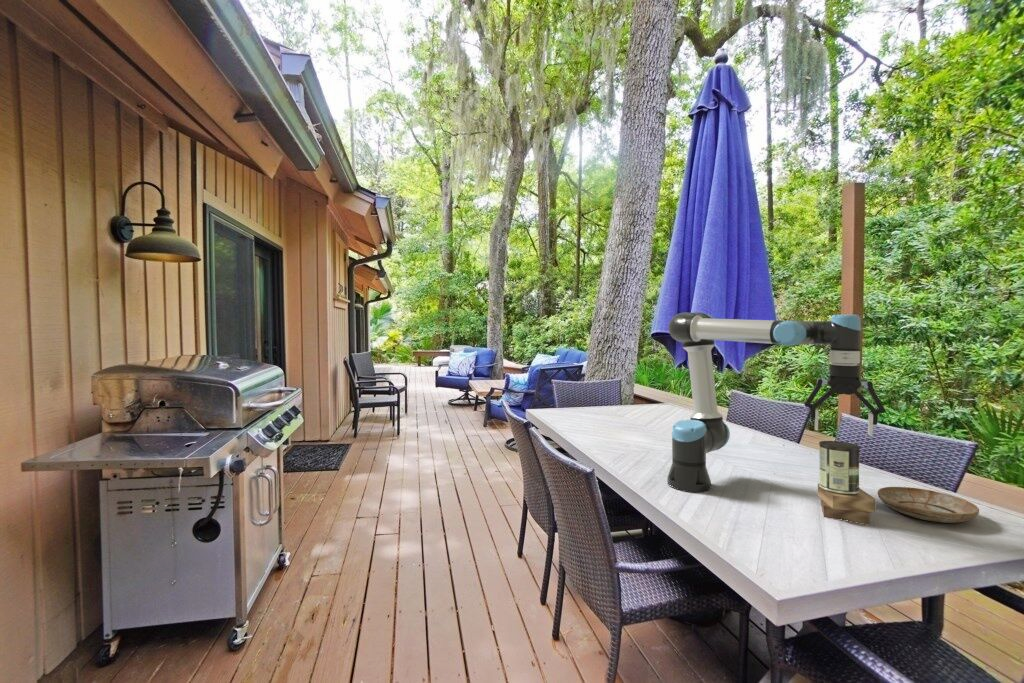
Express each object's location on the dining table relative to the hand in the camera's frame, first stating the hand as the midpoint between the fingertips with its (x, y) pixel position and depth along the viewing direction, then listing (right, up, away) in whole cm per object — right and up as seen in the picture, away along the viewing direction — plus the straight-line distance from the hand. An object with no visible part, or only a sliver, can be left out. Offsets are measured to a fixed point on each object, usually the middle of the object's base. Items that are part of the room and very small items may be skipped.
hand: (842, 432), depth 140 cm
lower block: (0, -26, 0) cm, 26 cm away
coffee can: (-1, -18, +1) cm, 18 cm away
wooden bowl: (+26, -26, 0) cm, 37 cm away
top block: (0, -22, 0) cm, 22 cm away
